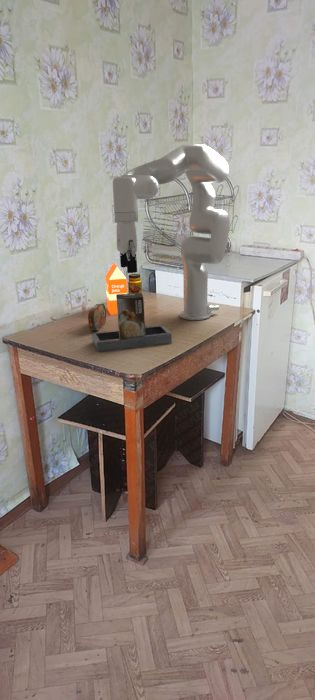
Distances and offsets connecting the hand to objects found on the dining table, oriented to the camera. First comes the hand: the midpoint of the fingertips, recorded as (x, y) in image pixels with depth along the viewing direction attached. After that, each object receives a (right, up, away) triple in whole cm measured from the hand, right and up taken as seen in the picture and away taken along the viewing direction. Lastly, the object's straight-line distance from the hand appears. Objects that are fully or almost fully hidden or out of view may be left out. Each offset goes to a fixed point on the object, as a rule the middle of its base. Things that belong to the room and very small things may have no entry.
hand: (128, 269), depth 173 cm
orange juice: (-7, -10, +47) cm, 49 cm away
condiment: (-1, -4, +62) cm, 63 cm away
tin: (-13, -18, +27) cm, 35 cm away
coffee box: (+1, -23, +9) cm, 25 cm away
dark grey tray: (+1, -24, +9) cm, 26 cm away
